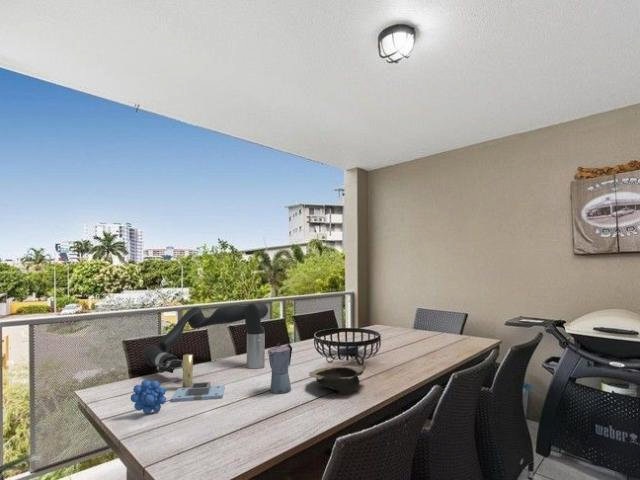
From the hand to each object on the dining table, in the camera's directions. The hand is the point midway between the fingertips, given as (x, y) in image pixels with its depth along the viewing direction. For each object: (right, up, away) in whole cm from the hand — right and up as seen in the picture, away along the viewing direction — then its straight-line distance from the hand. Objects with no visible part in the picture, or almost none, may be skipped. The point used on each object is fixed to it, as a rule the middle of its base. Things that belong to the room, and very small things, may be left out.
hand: (182, 368), depth 155 cm
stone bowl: (+68, -7, -3) cm, 69 cm away
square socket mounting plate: (+12, -6, -11) cm, 18 cm away
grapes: (0, -5, -31) cm, 31 cm away
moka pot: (+44, -7, -6) cm, 45 cm away
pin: (+4, -7, -4) cm, 9 cm away
